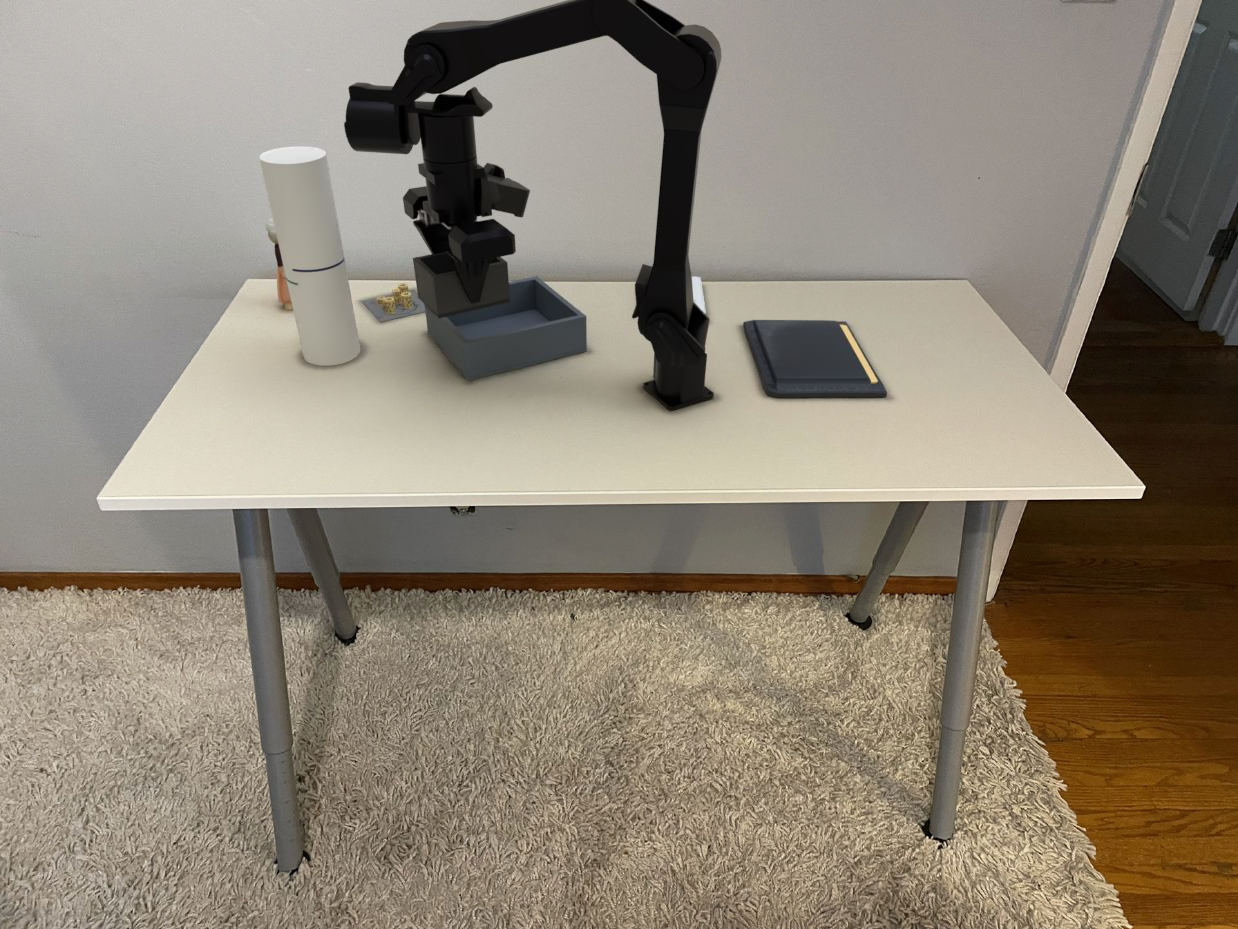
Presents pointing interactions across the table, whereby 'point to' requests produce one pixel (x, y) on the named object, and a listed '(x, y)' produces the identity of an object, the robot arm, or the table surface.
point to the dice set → (396, 304)
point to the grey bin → (511, 331)
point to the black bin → (457, 285)
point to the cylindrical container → (312, 252)
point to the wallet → (811, 359)
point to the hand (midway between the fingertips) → (463, 291)
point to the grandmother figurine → (279, 268)
